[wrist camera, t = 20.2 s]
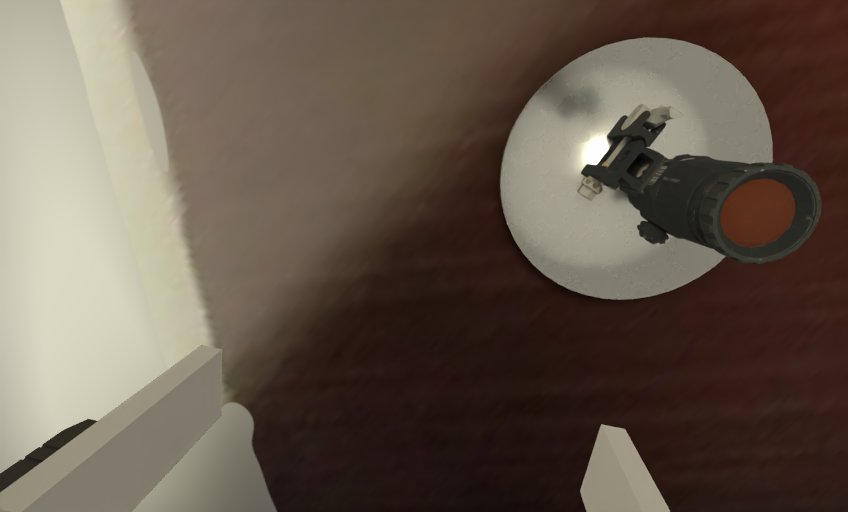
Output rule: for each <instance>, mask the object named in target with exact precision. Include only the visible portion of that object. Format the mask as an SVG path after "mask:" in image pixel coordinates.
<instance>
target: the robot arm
mask: <svg viewBox="0 0 848 512" xmlns="http://www.w3.org/2000/svg"><path fill="white" fill-rule="evenodd" d="M221 397H222V349H218V348H213V347H208V346H203V345H201V346H200V347H198V348H197V349H196V350H194V351H193V352H192V353H190V354H189V355H188V356H186V357H185V358H183V359H182V360H181V361H179V362H178V363H177V364H175V365H174V366H173V367H171V368H170V369H168V370H167V371H166V372H164V373H163V374H162V375H160V376H159V377H157V378H156V379H155V380H153V381H152V382H151V383H149V384H148V385H147V386H145V387H144V388H143V389H141V390H140V391H139V392H137V393H136V394H134V395H133V396H132V397H130V398H129V399H127V400H126V401H125V402H124V403H122V404H121V405H119V406H118V407H117V408H115V409H114V410H112V411H111V412H110V413H108V414H107V415H106V416H104V417H103V418H101V419H100V420H99V421H95V420H90V419H87V420H85V421H83V422H81V423H79V424H76V425H74V426H72V427H69V428H67V429H65V430H63V431H61V432H60V433H59V434H57V435H56V436H54V437H53V438H51V439H50V440H48V441H47V442H46V443H44V444H43V446H42V447H41V448H40V447H39V448H37V449H35V450H34V451H33V452H31V453H30V454H28V455H27V456H26V457H25V459H24V460H20V461H18V462H17V463H15V464H14V465H12V466H11V467H9V468H8V469H7V470H5V471H4V472H2V473H1V474H0V512H132V511H133V510H134V509H135V508H136V507H137V505H138V504H139V503H140V502H141V501H142V500H143V499H144V498H145V497H146V496H147V495H148V494H149V493H150V492H151V490H152V489H153V488H154V487H155V486H156V485H157V484H158V483H159V482H160V481H161V480H162V479H163V477H165V475H166V474H167V473H168V472H169V471H170V470H171V469H172V468H173V467H174V466H175V465H176V464H177V463H178V462H179V460H180V459H181V458H182V457H183V456H184V455H185V454H186V453H187V452H188V451H189V450H190V449H191V448H192V447H193V445H194V444H195V443H196V442H197V441H198V440H199V439H200V438H201V437H202V436H203V435H204V434H205V433H206V431H207V430H208V429H209V428H210V427H211V426H212V425H213V424H214V423H215V422H216V421H217V420H218V419H219V418H220V416H221ZM580 492H581V496H582V499H583V502H584V505H585V508H586V511H587V512H670V510H669V508H668V507H667V505H666V503H665V501H664V499H663V498H662V496H661V494H660V492H659V490H658V488H657V487H656V485H655V483H654V481H653V479H652V477H651V476H650V474H649V472H648V470H647V468H646V467H645V465H644V463H643V461H642V459H641V457H640V456H639V454H638V452H637V450H636V448H635V447H634V445H633V443H632V441H631V439H630V437H629V436H628V434H627V432H626V430H625V429H622V428H617V427H612V426H607V425H602V424H601V427H600V430H599V433H598V436H597V439H596V443H595V446H594V449H593V452H592V455H591V458H590V461H589V465H588V468H587V471H586V474H585V477H584V480H583V483H582V487H581V490H580Z"/></svg>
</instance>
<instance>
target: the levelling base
mask: <svg viewBox="0 0 848 512" xmlns="http://www.w3.org/2000/svg"><path fill="white" fill-rule="evenodd" d="M640 104H644V105H645V106H647V107H648V108H650V109H651V110H652V109H655V108H659V107H660V105H663V106H664V107H668V106H672V107H674V108H675V109H677V110H678V111H680V112H681V113H683V116H682V117H681V118H678V119H670V120H668V121H666V122H665V123H666V126H665V128H664V129H663V130H662V132H661V133H660V134H659V135H658V137H657V138H656V139H655V141H654V142H653V143H652V144H651V146H650V147H647V148H650V149H652V150H654V151H657V152H659V153H660V154H662V155H663V156H664V157H666V158H668V159H673V158H674V157H675V156H678V155H684V154H689V155H693V156H708V157H710V158H713V159H715V160H723V161H733V162H743V163H748V164H751V163H759V162H764V163H772V160H773V154H772V137H771V131H770V125H769V122H768V119H767V116H766V113H765V110H764V107H763V105H762V103H761V101H760V99H759V97H758V95H757V93H756V91H755V90H754V89H753V87H752V86H751V85H750V83H749V82H748V81H747V79H746V78H745V77H744V76H743V75H742V74H741V73H740V72H739V71H738V70H737V69H736V68H735V67H734V66H733V65H732V64H730V63H729V62H727V61H726V60H724V59H723V58H722V57H720V56H719V55H717V54H715V53H713V52H711V51H709V50H707V49H705V48H703V47H701V46H698V45H695V44H691V43H688V42H685V41H680V40H674V39H668V38H639V39H631V40H624V41H621V42H617V43H613V44H609V45H606V46H603V47H601V48H598V49H596V50H593V51H591V52H588V53H587V54H585V55H583V56H581V57H579V58H578V59H576V60H574V61H572V62H571V63H569V64H568V65H566V66H565V67H564V68H562V69H561V70H560V71H558V72H557V73H556V74H554V75H553V76H552V77H551V78H550V79H549V80H548V81H547V82H546V83H545V84H543V85H542V86H541V87H540V88H539V89H538V90H537V92H536V93H535V94H534V95H533V96H532V97H531V99H530V100H529V101H528V102H527V104H526V105H525V107H524V108H523V110H522V111H521V113H520V114H519V116H518V117H517V119H516V121H515V123H514V125H513V127H512V129H511V131H510V134H509V137H508V139H507V142H506V145H505V148H504V152H503V157H502V161H501V168H500V180H499V181H500V198H501V203H502V209H503V213H504V216H505V219H506V222H507V225H508V227H509V229H510V231H511V233H512V235H513V238H514V240H515V242H516V243H517V245H518V246H519V248H520V249H521V251H522V252H523V254H524V255H525V256H526V257H527V258H528V260H529V261H530V262H531V263H532V264H533V265H534V266H535V267H536V268H537V269H538V270H540V271H541V272H542V273H543V274H544V275H545V276H547V277H548V278H550V279H551V280H553V281H555V282H556V283H558V284H560V285H562V286H564V287H566V288H568V289H570V290H572V291H575V292H578V293H581V294H584V295H588V296H593V297H598V298H604V299H617V300H620V299H637V298H643V297H650V296H654V295H657V294H661V293H665V292H668V291H671V290H673V289H676V288H678V287H681V286H683V285H685V284H687V283H689V282H691V281H693V280H694V279H696V278H698V277H700V276H701V275H703V274H704V273H706V272H707V271H709V270H710V269H711V268H713V267H714V266H715V265H717V264H718V263H719V262H720V261H721V260H722V259H723V258H725V257H726V256H724V255H722V254H720V253H718V252H717V251H715V250H714V249H712V248H708V247H705V246H702V245H699V244H697V243H694V242H691V241H688V240H685V239H678V238H676V237H674V236H672V235H669V234H667V233H666V234H667V235H668V237H669V239H668V240H666V241H665V244H659V243H657V244H652V243H650V242H648V241H646V240H645V239H644V238H643V237H640V236H639V230H638V229H637V225H640V222H641V221H647V220H645V219H644V218H643V217H641V216H640V211H639V210H637V209H636V208H635V207H634V206H633V205H632V204H631V203H630V200H629V198H628V195H627V194H626V193H624V192H623V191H622V190H620V189H619V188H618V190H617V191H616V190H612V189H609V188H608V187H607V186H605V185H603V186H602V188H603V191H602V192H601V193H600V194H597V195H596V196H595V198H594V199H593V200H588V199H587V198H585V197H583V196H582V195H580V194H579V193H578V192H577V190H578V188H579V187H580V186H581V181H582V179H583V178H584V177H585V176H584V175H582V174H581V171H582V170H583V168H584V167H585V166H586V164H592V165H597V164H598V162H599V161H600V160H601V158H602V157H603V156H604V154H605V153H606V152H607V151H608V149H609V148H610V147H611V145H612V144H613V143H614V142H616V141H619V140H618V139H616V138H608V137H607V135H608V134H609V132H610V131H611V130H612V128H613V127H614V126H615V124H616V123H617V122H618V120H619V119H620V118H621V117H622V116H624V115H626V116H629V115H630V114H631V113H632V111H633V110H634V109H635V108H636V107H637V106H639V105H640ZM650 130H651V129H650ZM650 130H649V131H650ZM647 222H648V221H647Z"/></svg>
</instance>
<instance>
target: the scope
mask: <svg viewBox="0 0 848 512" xmlns="http://www.w3.org/2000/svg"><path fill="white" fill-rule="evenodd" d="M682 116H683V113H681V112H680V111H678V110H677V109H675V108H674V107H672V106H668V107H664V106H663V105H660V107H659V108H655V109H652V110H651V109H650V108H648V107H647V106H645V105H644V104H640V105H639V106H637V107H636V108H635V109H634V110H633V111H632V113H631V114H630V115H629V116H626V115H624V116H622V117H621V118H620V119H619V120H618V122H617V123H616V124H615V126H614V127H613V128H612V130H611V131H610V132H609V134H608V135H607V137H608V138H616V139H618V140H619V141H616V142H614V143H613V144H612V145H611V147H610V148H609V149H608V151H607V152H606V153H605V154H604V156H603V157H602V158H601V160H600V161H599V162H598V164H597V165H592V164H586V166H585V167H584V168H583V170H582V171H581V174H582V175H584V176H585V177H584V178H583V179H582V181H581V186H580V187H579V188H578V190H577V192H578V193H579V194H580V195H582V196H583V197H585V198H587V199H588V200H593V199H594V198H595V196H596V195H597V194H600V193H601V192H602V191H603V188H602V186H603V185H605V186H607V187H608V188H609V189H612V190H616V191H617V190H618V188H619V189H620V190H622V191H623V192H624V193H626V194H627V195H628V198H629V200H630V203H631V204H632V205H633V206H634V207H635V208H636V209H637V210H639V211H640V216H641V217H643V218H644V219H645V220H647V221H648V222H647V221H641V222H640V225H637V229H638V230H639V236H640V237H643V238H644V239H645V240H646V241H648V242H650V243H652V244H657V243H659V244H665V241H666V240H668V239H669V237H668V235H667V234H669V235H672V236H674V237H676V238H678V239H685V240H688V241H691V242H694V243H697V244H699V245H702V246H705V247H708V248H712V249H714V250H715V251H717V252H718V253H720V254H722V255H724V256H727V257H729V258H731V259H734V260H736V261H739V262H743V263H748V262H753V263H755V264H761V263H766V262H768V261H772V260H775V261H776V260H778V259H781V258H783V257H784V256H786V255H788V254H789V253H791V252H794V251H795V250H796V249H798V248H799V247H800V246H801V245H802V244H803V243H804V242H805V241H806V240H807V239H808V238H809V237H810V235H811V234H812V233H813V231H814V229H815V226H816V224H817V223H818V220H819V217H820V211H821V197H820V194H819V190H818V187H817V185H816V184H815V182H814V181H812V180H811V178H810V177H809V176H808V174H807V173H806V172H804V171H803V170H801V169H795V168H793V167H792V165H788V164H784V163H764V162H759V163H751V164H748V163H743V162H733V161H723V160H715V159H713V158H710V157H708V156H693V155H689V154H684V155H678V156H675V157H674V158H673V159H668V158H666V157H664V156H663V155H662V154H660V153H659V152H657V151H654V150H652V149H650V148H647V147H650V146H651V144H652V143H653V142H654V141H655V139H656V138H657V137H658V135H659V134H660V133H661V132H662V130H663V129H664V128H665V126H666V123H665V122H666V121H668V120H670V119H678V118H681V117H682ZM650 129H651V130H650ZM649 130H650V131H649ZM666 233H667V234H666Z"/></svg>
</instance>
